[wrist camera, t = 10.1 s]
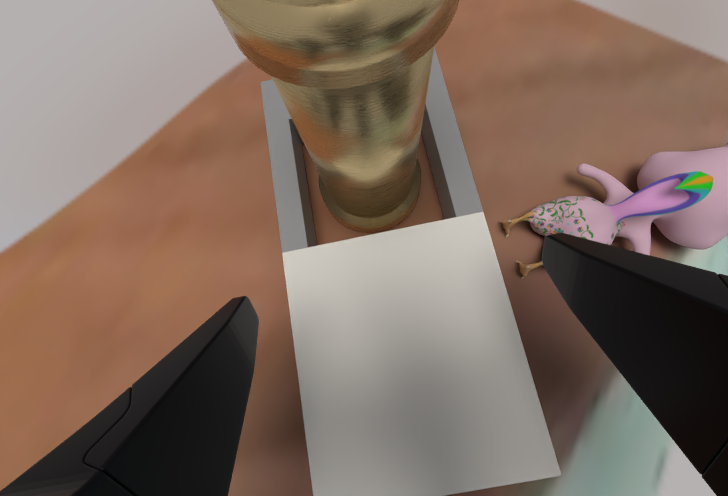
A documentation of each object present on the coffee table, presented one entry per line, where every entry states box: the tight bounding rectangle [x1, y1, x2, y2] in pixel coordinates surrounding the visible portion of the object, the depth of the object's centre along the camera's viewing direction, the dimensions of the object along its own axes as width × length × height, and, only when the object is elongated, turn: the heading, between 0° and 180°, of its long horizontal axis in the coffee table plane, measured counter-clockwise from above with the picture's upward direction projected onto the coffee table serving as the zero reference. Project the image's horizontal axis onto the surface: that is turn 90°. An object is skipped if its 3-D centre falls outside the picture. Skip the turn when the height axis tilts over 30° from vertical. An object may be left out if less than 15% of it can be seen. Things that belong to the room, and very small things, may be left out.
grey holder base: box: [260, 48, 562, 496], centre depth 16 cm, size 22×10×2 cm, turn 11°
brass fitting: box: [212, 0, 459, 233], centre depth 12 cm, size 6×6×13 cm
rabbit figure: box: [499, 143, 728, 278], centre depth 14 cm, size 6×6×15 cm
